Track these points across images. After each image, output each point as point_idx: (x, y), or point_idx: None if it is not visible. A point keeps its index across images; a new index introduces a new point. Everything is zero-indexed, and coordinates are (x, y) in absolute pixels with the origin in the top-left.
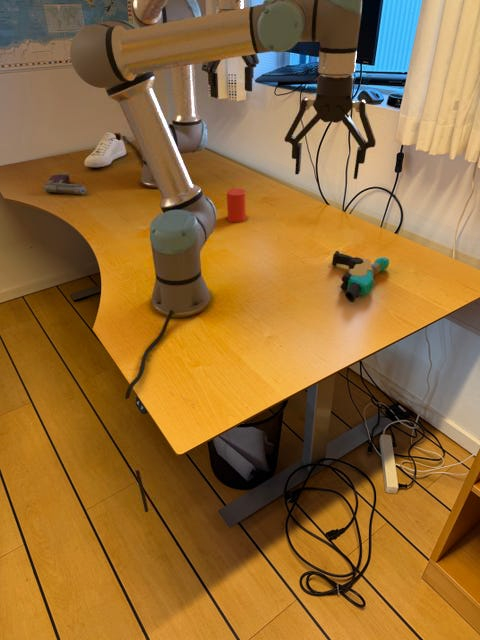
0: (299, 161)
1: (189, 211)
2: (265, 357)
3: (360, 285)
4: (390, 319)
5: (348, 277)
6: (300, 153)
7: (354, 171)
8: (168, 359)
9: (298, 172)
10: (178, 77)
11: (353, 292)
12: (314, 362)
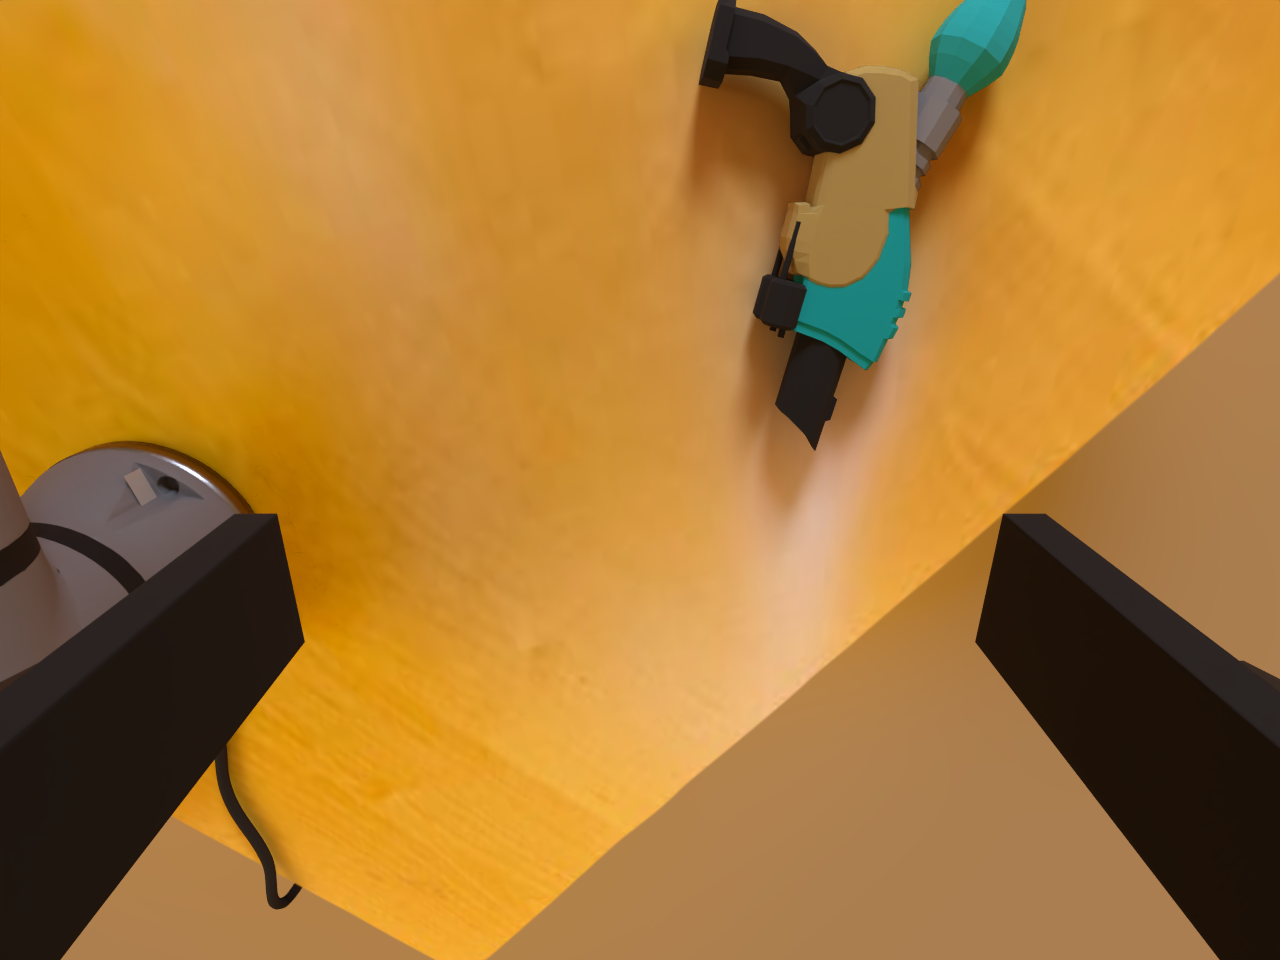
0: (208, 713)
1: None
2: (552, 731)
3: (845, 354)
4: (941, 471)
5: (792, 323)
6: (116, 749)
7: (1021, 701)
8: (298, 789)
9: (292, 646)
10: None
11: (813, 425)
12: (691, 720)
